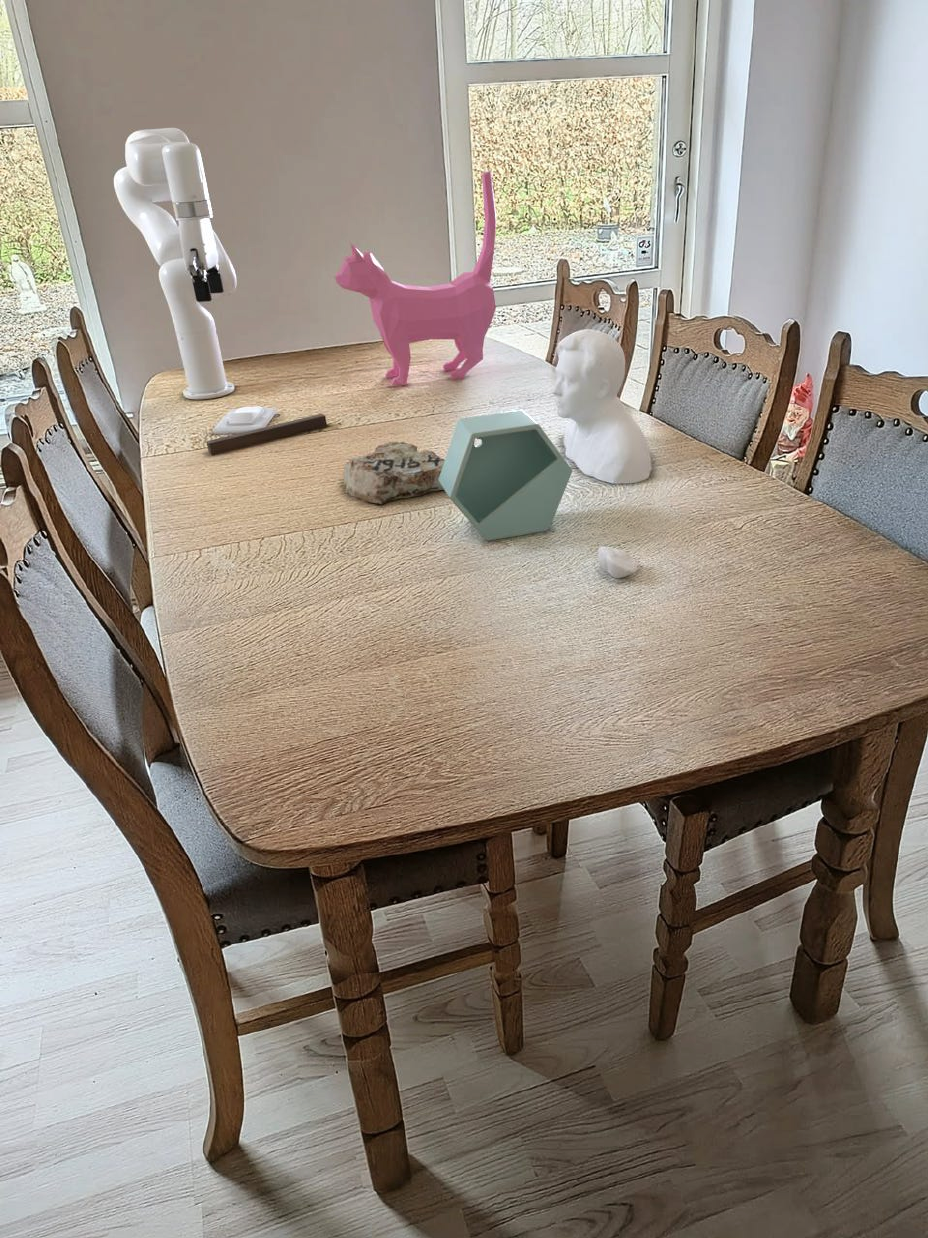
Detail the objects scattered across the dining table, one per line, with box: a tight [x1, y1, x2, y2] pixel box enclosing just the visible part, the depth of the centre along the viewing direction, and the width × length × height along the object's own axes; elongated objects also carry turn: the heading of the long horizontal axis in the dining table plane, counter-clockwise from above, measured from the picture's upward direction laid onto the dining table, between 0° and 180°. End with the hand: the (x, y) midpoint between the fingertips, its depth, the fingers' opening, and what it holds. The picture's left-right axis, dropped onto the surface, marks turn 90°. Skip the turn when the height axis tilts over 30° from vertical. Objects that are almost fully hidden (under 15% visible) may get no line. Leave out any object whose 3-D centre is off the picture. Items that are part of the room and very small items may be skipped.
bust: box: [551, 328, 653, 485], centre depth 155 cm, size 28×19×24 cm
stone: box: [342, 441, 445, 505], centre depth 157 cm, size 19×6×25 cm
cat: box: [334, 170, 497, 387], centre depth 205 cm, size 13×39×45 cm, turn 104°
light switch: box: [212, 406, 278, 435], centre depth 192 cm, size 11×4×13 cm
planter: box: [438, 409, 573, 542], centre depth 133 cm, size 17×8×21 cm
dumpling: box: [597, 545, 642, 579], centre depth 121 cm, size 7×5×4 cm
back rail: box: [205, 413, 328, 456], centre depth 182 cm, size 2×26×2 cm, turn 123°
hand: (210, 296), depth 188 cm, fingers open, 9 cm apart
